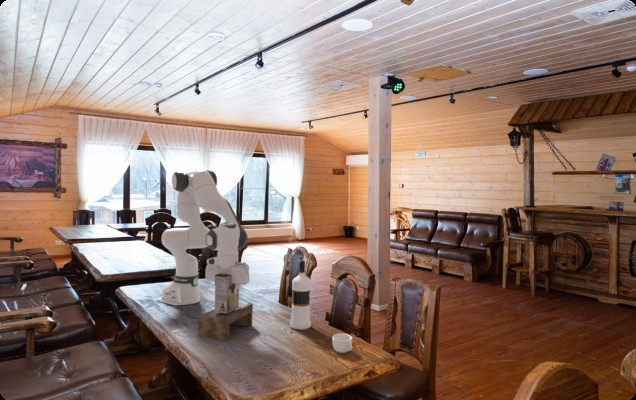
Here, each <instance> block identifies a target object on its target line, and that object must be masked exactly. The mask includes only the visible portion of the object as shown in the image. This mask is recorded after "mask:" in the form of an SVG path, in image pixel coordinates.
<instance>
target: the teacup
mask: <svg viewBox="0 0 636 400" xmlns="http://www.w3.org/2000/svg"><path fill="white" fill-rule="evenodd" d="M331 339H332V347H333V349H334V351H336V352H337V353H340V354H346V353H348V352H351V351H352V350H353V345H352V343H353V336H351V335H350V334H347V333H336V334H332V338H331Z"/></svg>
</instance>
